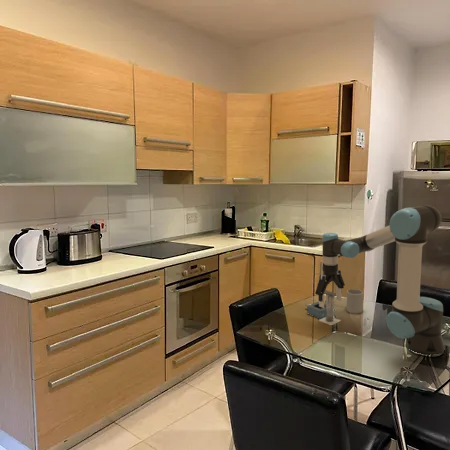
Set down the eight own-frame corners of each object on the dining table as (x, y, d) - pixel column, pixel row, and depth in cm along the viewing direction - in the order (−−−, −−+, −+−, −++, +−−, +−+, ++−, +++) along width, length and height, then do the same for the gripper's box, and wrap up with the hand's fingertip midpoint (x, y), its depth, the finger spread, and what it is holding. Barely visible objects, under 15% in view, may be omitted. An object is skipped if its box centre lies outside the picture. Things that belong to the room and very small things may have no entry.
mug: (365, 312, 219) (366, 293, 217) (351, 314, 218) (351, 295, 215) (354, 304, 231) (354, 285, 229) (340, 306, 229) (340, 287, 227)
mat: (340, 321, 210) (340, 320, 210) (330, 325, 206) (330, 325, 206) (328, 316, 217) (328, 315, 217) (318, 320, 212) (318, 319, 212)
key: (327, 317, 215) (327, 289, 212) (337, 321, 210) (337, 292, 207) (322, 319, 213) (322, 291, 209) (332, 323, 207) (332, 294, 204)
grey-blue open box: (332, 314, 219) (332, 306, 218) (321, 319, 214) (321, 311, 213) (312, 306, 230) (312, 298, 230) (300, 311, 225) (300, 303, 224)
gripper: (339, 257, 215) (339, 295, 219) (307, 267, 201) (308, 307, 205) (351, 259, 209) (351, 299, 213) (319, 270, 195) (320, 312, 199)
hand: (330, 303), depth 209 cm, fingers open, 13 cm apart
